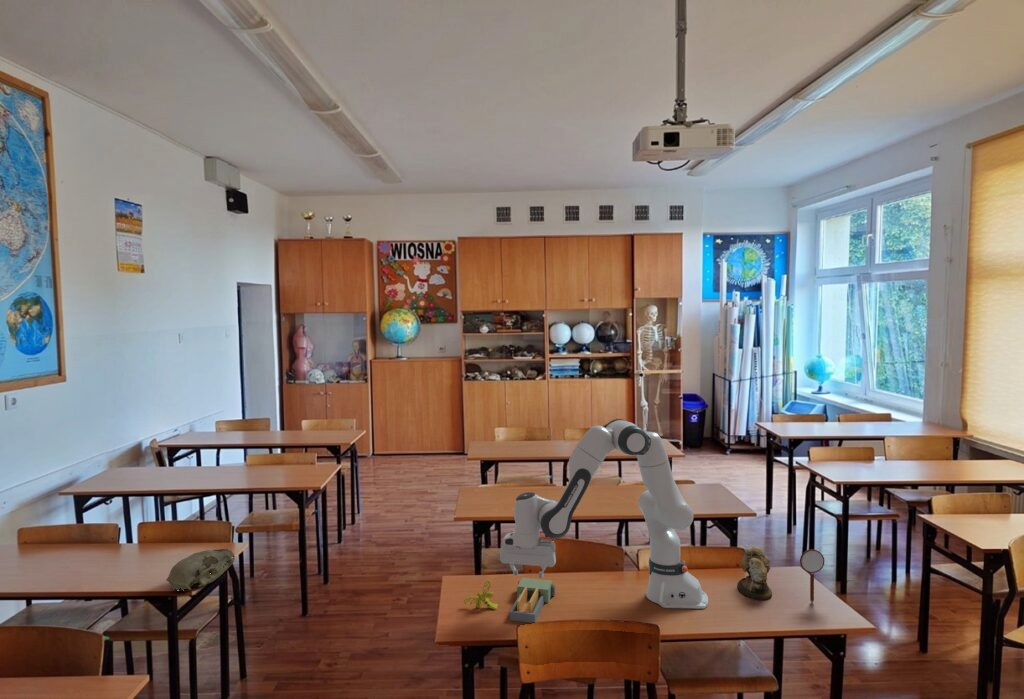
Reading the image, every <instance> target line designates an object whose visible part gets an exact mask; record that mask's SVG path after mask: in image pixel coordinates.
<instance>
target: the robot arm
mask: <svg viewBox="0 0 1024 699" xmlns="http://www.w3.org/2000/svg"><path fill="white" fill-rule="evenodd" d="M613 450H618V451H621V452H622V453H623V454H625V455H629V456H636V459H637V463H638V467H639V470H640V471H639V472H640V476H641V479H642V480H641V481H642V483H643V485H644V487H645V488H646V490H645V491H643V492H642V493H641V494H640V496H639V498H638V507H639V509H640V511H641V513H642V515H643V517H644V520H645V523H646V528H647V531H648V538H649V555H650V556H649V558H648V559H649V560H648V572H649V579H648V586H647V590H646V593H645V595H646V598H647V599H648V600H649V601H651V602H653V603H655V604H658V605H659V606H660V607H662V608H664V609H706V608H707V607H708V606H709V597H708V594H707V593H706V592H705V591H703V589H702V586H701V584H700V581H699V580H698V578H696V577H695V576H694V575H692V574H691V573H690V572H689V571H688V567H687V564H686V561H685V560H682V559H681V540H680V536H678V534H677V532H676V530H677V531H685V530H686V529H688V528H689V527H690V526H691V525H692V523H693V521H694V511H693V509H692V507H691V506H690V505H689V504H688V502H687V501H686V500H685V498H684V496H683V495H682V493H681V491H680V489H679V487H678V485H677V482H676V480H675V479H674V476H673V473H672V472H673V471H672V468H671V463H670V460H669V457H668V453H667V449H666V447H665V444H664V442H663V440H662V438H661V436H660V435H659V434H658V433H657V432H654V431H645V430H644V429H643V428H641V427H639V426H638V425H636V424H635V423H633V422H630V421H627V420H625V419H623V418H616V419H615V418H614V419H612V420H610V421H609V422H608V423H606V424H604V425H603V426H602V425H593V426H591V427H590V428H589V429H588V430H587V431H586V432H585V433H584V434H583V436H582V437H581V439H580V440H579V441H578V442H577V444H576V445H575V447H574V449H573V450H572V453H570V454H571V455H570V456H569V460H568V471H569V478H568V483H567V485H566V487H565V489H564V491H563V493H562V494H561V496H560V498H559V500H558V501H556V500H554V499H547V498H544V497H541V496H540V495H538V494H537V493H535V492H529V491H528V492H524V493H521V494H519V495H518V496H517V497H516V498H515V502H514V509H513V510H514V511H513V514H514V515H513V516H514V522H515V527H514V531H512V532H508V533H506V534H505V535H504V536H503V538H502V539H501V540H502V541H501V542H502V545H501V546H500V551H499V561H500V562H501V564H509V567H510V569H511V570H512V575H513V576H514V577H517V576H519V569H517V568H516V567H515V565H519V566H520V565H521V566H523V565H524V566H536V567H541V571H540V570H539V572H538V578H539V579H543V578H544V573H545V570H546V568H548V567H549V568H553V567H555V565H556V562H557V557H556V550H557V545H556V543H555V541H552V539H553V540H554V539H561V538H563V537H564V536H566V535H567V533H568V532H569V531H570V529H571V528H570V527H571V522H572V518H573V515H574V512H575V510H576V509H577V507H578V506H579V504H580V502H581V500H582V498H583V496H584V494H585V493H586V491H587V489H588V486H589V485H590V484H591V481H592V479H593V478H594V476H595V475H596V473H597V472H598V470H599V469H600V467H601V465H602V464H603V462H604V461H605V459H606V457H607V455H609V453H610V452H612V451H613ZM540 529H541V530H542V533H543V534H544V535H545V536H546V537H548V538H550V539H543V538H540Z"/></svg>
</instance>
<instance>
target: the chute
mask: <svg viewBox="0 0 1024 699" xmlns="http://www.w3.org/2000/svg"><path fill="white" fill-rule="evenodd" d="M537 603H538V588H536V590H535V591H534V593H533V595H532V597H531V599H530V601H527V587H525V588H524V590H523V592H522V594H521V595H520V597H519V599H518V601H517V611H519V612H528V613H533V611H534V609H535V607H536V605H537Z"/></svg>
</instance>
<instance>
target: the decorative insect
mask: <svg viewBox="0 0 1024 699" xmlns="http://www.w3.org/2000/svg"><path fill="white" fill-rule="evenodd" d="M491 584H492V582H491V580H490V579H487V580H485V582H484V583H483V586H482V592H478V593H476V596H468V597H466V598H465V599H463V604H465V605H472V604H474V603H475V608H476V609H478V610H479V609H480V608H481V606H482V602H483V604H484V605H486V607H488V608H490V609H492V610H495V611H496V610H497V609H498V607H499V605H498V604H497V603H493V602H492V601H490V598H491V599H492V597H494V593H493V592H492V591H489V590H490V588H491ZM488 585H489V586H488ZM485 587H486V588H485ZM471 599H472V600H471Z"/></svg>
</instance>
